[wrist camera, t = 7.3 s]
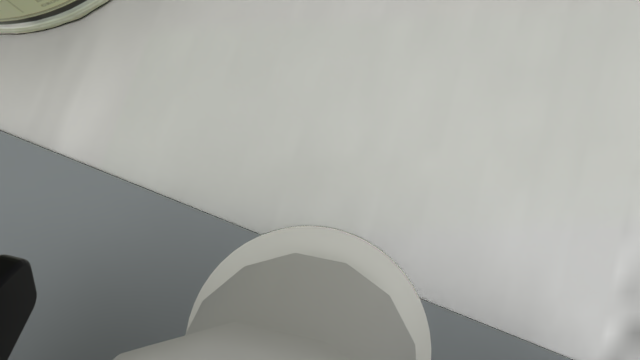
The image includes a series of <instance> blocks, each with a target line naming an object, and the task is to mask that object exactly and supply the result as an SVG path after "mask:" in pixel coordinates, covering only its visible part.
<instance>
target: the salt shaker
mask: <svg viewBox="0 0 640 360" xmlns="http://www.w3.org/2000/svg"><path fill="white" fill-rule="evenodd" d="M113 360H416V350H415V343H414V341H413V339H412V337H411V335H410V333H409V332H408V330H407V328H406V326H405V324H404V322H403V320H402V318H401V316H400V314H399V312H398V310H397V309H396V307H395V305H394V303H393V301H392V299H391V297H390V295H388V294H387V293H386V292H384V291H383V290H382V289H380V288H379V287H378V286H376V285H375V284H374V283H372V282H371V281H370V280H368V279H367V278H366V277H364V276H363V275H362V274H360V273H359V272H358V271H356V270H355V269H354V268H352V267H351V266H350V265H348V264H347V263H343V262H338V261H333V260H328V259H323V258H318V257H313V256H308V255H303V254H299V253H292V254H288V255H284V256H281V257H277V258H273V259H270V260H266V261H262V262H259V263H255V264H251V265H247V266H244V267H243V268H242V269H240V270H239V271H238V272H237V273H236V274H234V275H233V276H232V277H231V278H230V279H228V280H227V281H226V282H225V283H224V284H222V285H221V286H220V287H219V288H217V289H216V290H215V291H214V292H213V293H211V294H210V295H209V296H208V297H207V298H205V299H204V300H203V301H202V303H201V305H200V307H199V309H198V311H197V313H196V315H195V317H194V319H193V321H192V323H191V325H190V326H189V328H188V330H187V332H186V334H185V336H182V337H178V338H174V339H171V340H167V341H163V342H160V343H156V344H152V345H149V346H145V347H142V348H138V349H135V350H131V351H128V352H124V353H121V354H119V355H118V356H116V357H115V358H114V359H113Z"/></svg>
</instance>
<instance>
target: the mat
mask: <svg viewBox="0 0 640 360" xmlns="http://www.w3.org/2000/svg"><path fill="white" fill-rule="evenodd" d="M292 253H299V254H303V255H308V256H313V257H318V258H323V259H328V260H333V261H338V262H343V263H347V264H348V265H350V266H351V267H352V268H354V269H355V270H356V271H358V272H359V273H360V274H362V275H363V276H364V277H366V278H367V279H368V280H370V281H371V282H372V283H374V284H375V285H376V286H378V287H379V288H380V289H382V290H383V291H384V292H386V293H387V294H388V295H390V297H391V299H392V301H393V303H394V305H395V307H396V309H397V310H398V312H399V314H400V316H401V318H402V320H403V322H404V324H405V326H406V328H407V330H408V332H409V333H410V335H411V337H412V339H413V341H414V343H415V350H416V360H573V359H570V358H568V357H565V356H563V355H560V354H558V353H555V352H553V351H550V350H548V349H545V348H543V347H540V346H538V345H535V344H533V343H530V342H528V341H525V340H523V339H520V338H518V337H515V336H513V335H510V334H508V333H505V332H503V331H500V330H498V329H495V328H493V327H490V326H488V325H485V324H483V323H480V322H478V321H475V320H473V319H470V318H468V317H465V316H463V315H460V314H458V313H455V312H453V311H450V310H448V309H445V308H443V307H440V306H438V305H435V304H433V303H430V302H428V301H425V300H423V299H420V298H419V296H418V295H417V293H416V291H415V289H414V287H413V285H412V284H411V282H410V281H409V279H408V278H407V277H406V275H405V274H404V272H403V271H402V270H401V269H400V268H399V267H398V266H397V265H396V263H395V262H394V261H393V260H392V259H391V258H389V257H388V256H387V255H386V254H385V253H383V252H382V251H381V250H380V249H378V248H377V247H375V246H374V245H372V244H371V243H369V242H367V241H366V240H363V239H361V238H359V237H357V236H355V235H353V234H350V233H347V232H344V231H341V230H338V229H333V228H327V227H321V226H297V227H288V228H283V229H279V230H274V231H272V232H269V233H266V234H263V235H260V234H258V233H255V232H253V231H250V230H248V229H245V228H243V227H240V226H238V225H235V224H233V223H230V222H228V221H225V220H223V219H220V218H218V217H215V216H213V215H210V214H208V213H205V212H203V211H200V210H198V209H195V208H193V207H190V206H188V205H185V204H183V203H180V202H178V201H175V200H173V199H170V198H168V197H165V196H163V195H160V194H158V193H155V192H153V191H150V190H148V189H145V188H143V187H140V186H138V185H135V184H133V183H130V182H128V181H125V180H123V179H120V178H118V177H115V176H113V175H110V174H108V173H105V172H103V171H100V170H98V169H95V168H93V167H90V166H88V165H85V164H83V163H80V162H78V161H75V160H73V159H70V158H68V157H65V156H63V155H60V154H58V153H55V152H53V151H50V150H48V149H45V148H43V147H40V146H38V145H35V144H33V143H30V142H28V141H25V140H23V139H20V138H18V137H15V136H13V135H10V134H8V133H5V132H3V131H0V255H3V254H6V255H11V256H15V257H19V258H23V259H26V260H28V261H29V263H30V264H31V268H32V273H33V277H34V282H35V286H36V291H37V299H36V303H35V306H34V309H33V311H32V313H31V315H30V317H29V319H28V321H27V323H26V325H25V327H24V329H23V331H22V333H21V335H20V336H19V338H18V340H17V342H16V344H15V346H14V348H13V350H12V352H11V354H10V356H9V358H8V360H113V359H114V358H115V357H116V356H118V355H119V354H121V353H124V352H128V351H131V350H135V349H138V348H142V347H145V346H149V345H152V344H156V343H160V342H163V341H167V340H171V339H174V338H178V337H182V336H185V334H186V332H187V330H188V328H189V326H190V325H191V323H192V321H193V319H194V317H195V315H196V313H197V311H198V309H199V307H200V305H201V303H202V301H203V300H204V299H205V298H207V297H208V296H209V295H210V294H211V293H213V292H214V291H215V290H216V289H217V288H219V287H220V286H221V285H222V284H224V283H225V282H226V281H227V280H228V279H230V278H231V277H232V276H233V275H234V274H236V273H237V272H238V271H239V270H240V269H242V268H243V267H244V266H247V265H251V264H255V263H259V262H262V261H266V260H270V259H273V258H277V257H281V256H284V255H288V254H292Z"/></svg>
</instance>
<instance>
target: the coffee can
mask: <svg viewBox="0 0 640 360" xmlns="http://www.w3.org/2000/svg"><path fill="white" fill-rule="evenodd" d="M107 1H109V0H0V34H19V33H28V32H34V31H40V30H45V29H49V28H53V27H57V26H59V25H62V24H64V23H67V22H70V21H74V20H77V19H79V18H81V17H83V16H85V15H86V14H88V13H89V12H91V11H92V10H94V9H96V8H97V7H99V6H101V5H102V4H104V3H106V2H107Z"/></svg>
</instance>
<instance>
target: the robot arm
mask: <svg viewBox="0 0 640 360" xmlns="http://www.w3.org/2000/svg"><path fill="white" fill-rule="evenodd" d="M36 299H37V291H36V286H35V282H34V277H33V273H32V268H31V264H30V263H29V261H28V260H26V259H23V258H19V257H15V256H11V255H6V254H3V255H0V360H8V358H9V356H10V354H11V352H12V350H13V348H14V346H15V344H16V342H17V340H18V338H19V336H20V335H21V333H22V331H23V329H24V327H25V325H26V323H27V321H28V319H29V317H30V315H31V313H32V311H33V309H34V306H35V303H36Z"/></svg>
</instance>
